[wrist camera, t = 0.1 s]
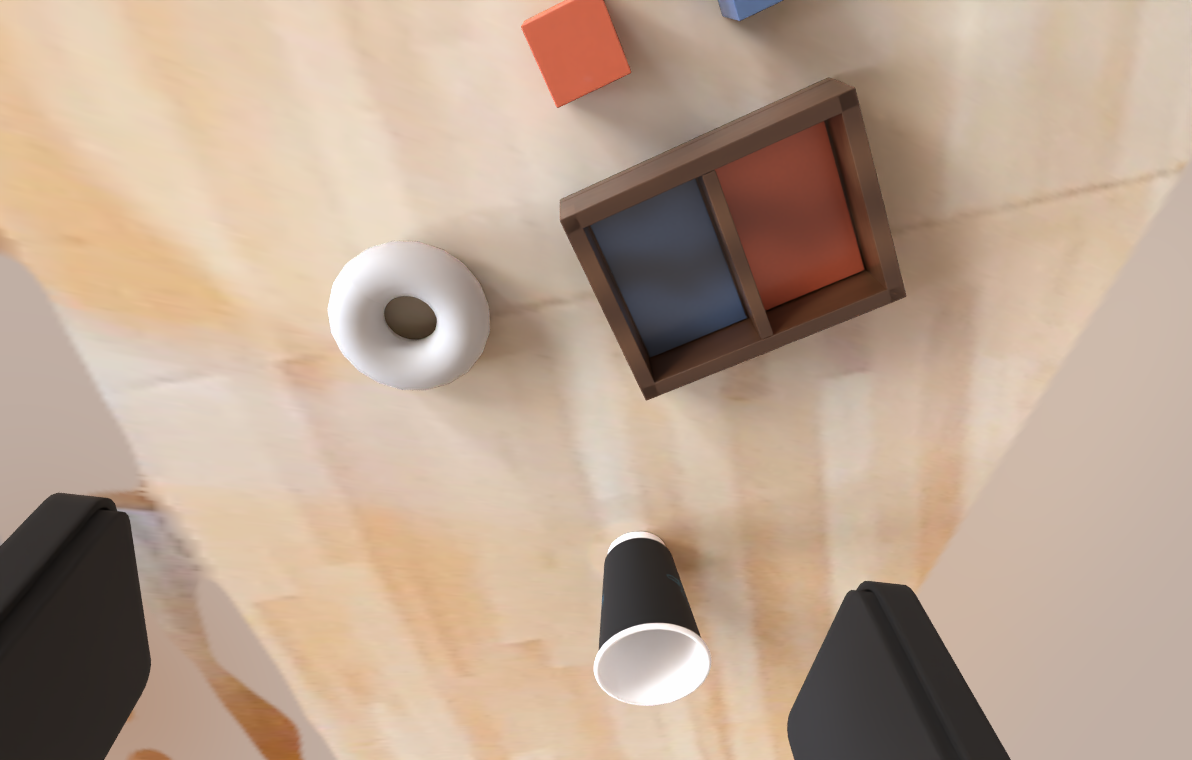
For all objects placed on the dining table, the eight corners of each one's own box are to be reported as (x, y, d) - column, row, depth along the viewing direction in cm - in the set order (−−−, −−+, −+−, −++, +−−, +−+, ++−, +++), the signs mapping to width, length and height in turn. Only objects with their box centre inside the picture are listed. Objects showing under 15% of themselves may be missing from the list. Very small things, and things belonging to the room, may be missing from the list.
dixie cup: (706, 543, 59) (736, 655, 49) (646, 603, 61) (663, 720, 52) (627, 499, 56) (641, 609, 46) (568, 565, 59) (570, 681, 49)
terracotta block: (523, 21, 40) (520, 26, 36) (594, -15, 39) (598, -13, 35) (557, 96, 42) (557, 108, 38) (624, 63, 41) (631, 72, 37)
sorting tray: (559, 199, 45) (559, 220, 41) (829, 76, 42) (855, 86, 38) (639, 369, 51) (646, 401, 47) (879, 272, 48) (906, 297, 44)
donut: (454, 395, 51) (519, 278, 47) (448, 423, 48) (515, 300, 44) (314, 334, 48) (369, 203, 44) (298, 360, 45) (355, 222, 41)
